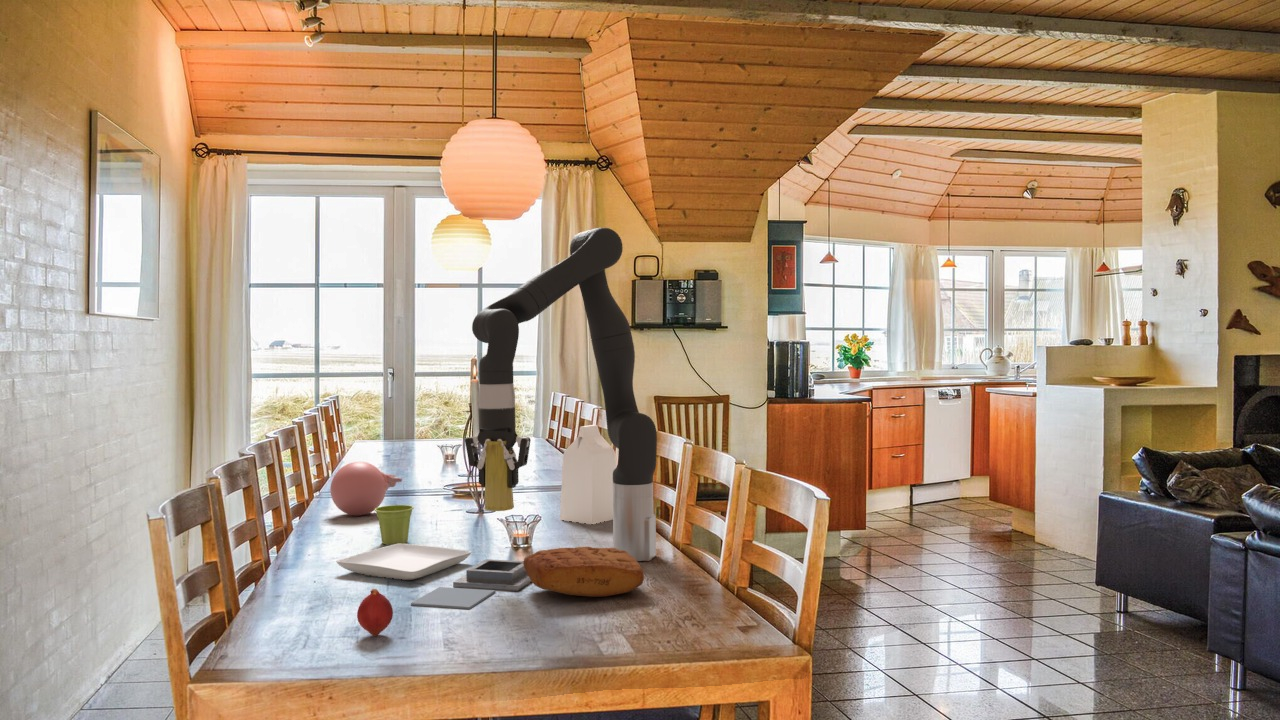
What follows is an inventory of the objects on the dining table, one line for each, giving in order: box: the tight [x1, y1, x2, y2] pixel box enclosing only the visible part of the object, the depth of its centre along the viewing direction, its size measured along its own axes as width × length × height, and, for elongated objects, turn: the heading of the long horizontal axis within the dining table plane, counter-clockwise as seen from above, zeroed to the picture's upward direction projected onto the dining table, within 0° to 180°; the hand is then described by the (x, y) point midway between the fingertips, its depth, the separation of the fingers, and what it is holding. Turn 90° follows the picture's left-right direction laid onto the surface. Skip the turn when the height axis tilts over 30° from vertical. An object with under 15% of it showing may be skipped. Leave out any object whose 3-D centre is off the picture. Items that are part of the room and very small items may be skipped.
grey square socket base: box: [452, 558, 532, 592], centre depth 196 cm, size 14×14×3 cm
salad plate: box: [336, 543, 472, 581], centre depth 207 cm, size 21×21×3 cm
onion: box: [356, 588, 394, 637], centre depth 160 cm, size 6×6×8 cm
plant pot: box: [374, 504, 414, 546], centre depth 234 cm, size 9×9×9 cm
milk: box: [559, 424, 617, 525], centre depth 263 cm, size 12×12×26 cm
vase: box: [484, 441, 515, 512], centre depth 196 cm, size 6×6×14 cm
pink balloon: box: [330, 461, 403, 517], centre depth 273 cm, size 15×20×15 cm
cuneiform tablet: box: [523, 546, 645, 598], centre depth 186 cm, size 22×17×8 cm
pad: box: [410, 586, 496, 610], centre depth 183 cm, size 12×12×1 cm
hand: (498, 486), depth 196 cm, fingers closed on vase, 5 cm apart
